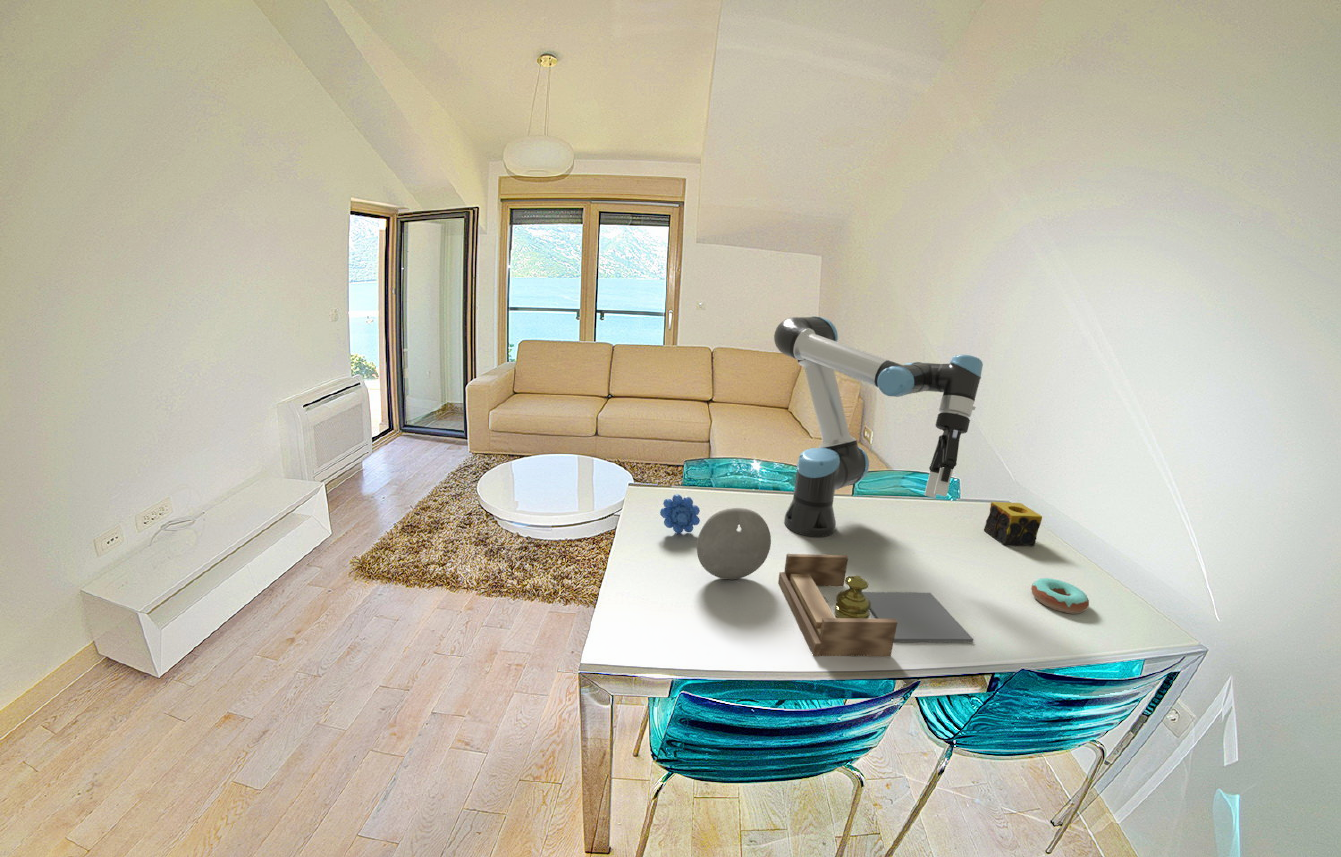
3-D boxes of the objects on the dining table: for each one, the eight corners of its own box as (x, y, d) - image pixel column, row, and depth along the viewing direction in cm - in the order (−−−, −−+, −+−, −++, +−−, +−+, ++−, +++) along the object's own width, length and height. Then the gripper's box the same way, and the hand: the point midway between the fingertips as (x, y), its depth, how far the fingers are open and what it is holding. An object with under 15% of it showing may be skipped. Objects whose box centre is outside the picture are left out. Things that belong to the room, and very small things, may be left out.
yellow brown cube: (982, 530, 180) (989, 501, 177) (1013, 531, 181) (1020, 502, 178) (1003, 546, 170) (1011, 515, 167) (1035, 546, 171) (1043, 516, 168)
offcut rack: (841, 583, 143) (846, 555, 141) (890, 656, 117) (897, 622, 115) (778, 582, 142) (781, 553, 140) (813, 656, 116) (818, 621, 113)
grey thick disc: (761, 569, 147) (769, 502, 142) (770, 584, 141) (779, 514, 136) (691, 571, 144) (696, 502, 139) (696, 587, 138) (703, 515, 132)
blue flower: (661, 540, 159) (663, 500, 156) (657, 529, 166) (659, 491, 163) (701, 539, 162) (705, 500, 158) (696, 529, 168) (700, 490, 165)
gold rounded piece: (850, 629, 125) (857, 589, 122) (827, 611, 131) (833, 572, 129) (875, 622, 128) (882, 582, 126) (851, 604, 135) (857, 566, 132)
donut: (1047, 585, 150) (1051, 571, 148) (1097, 610, 139) (1101, 596, 138) (1019, 594, 144) (1022, 580, 143) (1068, 621, 134) (1073, 606, 133)
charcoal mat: (929, 595, 141) (930, 592, 140) (972, 642, 123) (973, 638, 123) (858, 594, 139) (859, 591, 139) (892, 641, 122) (892, 638, 122)
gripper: (983, 410, 134) (962, 498, 132) (958, 426, 158) (940, 500, 156) (949, 403, 136) (928, 489, 135) (929, 419, 160) (911, 493, 158)
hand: (934, 496), depth 145 cm, fingers open, 13 cm apart
